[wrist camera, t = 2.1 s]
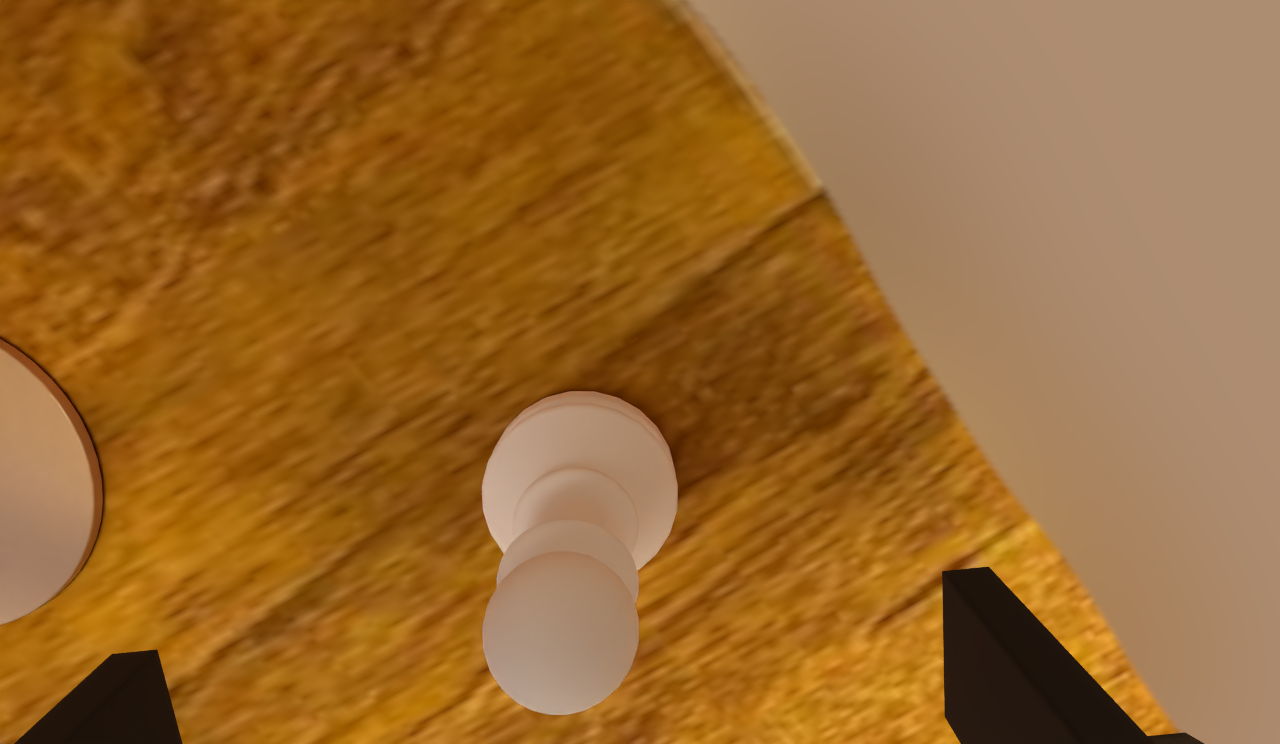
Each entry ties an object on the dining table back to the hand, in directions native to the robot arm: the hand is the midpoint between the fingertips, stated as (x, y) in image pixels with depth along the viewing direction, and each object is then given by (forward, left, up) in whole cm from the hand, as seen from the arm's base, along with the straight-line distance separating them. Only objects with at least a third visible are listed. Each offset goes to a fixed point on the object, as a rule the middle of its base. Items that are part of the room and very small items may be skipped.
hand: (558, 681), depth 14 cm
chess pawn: (0, 0, -9) cm, 9 cm away
